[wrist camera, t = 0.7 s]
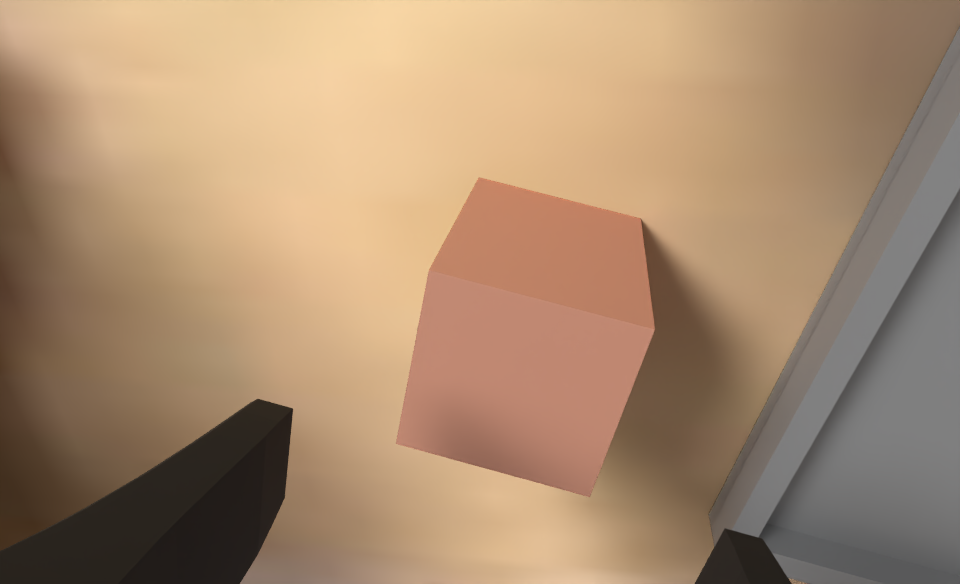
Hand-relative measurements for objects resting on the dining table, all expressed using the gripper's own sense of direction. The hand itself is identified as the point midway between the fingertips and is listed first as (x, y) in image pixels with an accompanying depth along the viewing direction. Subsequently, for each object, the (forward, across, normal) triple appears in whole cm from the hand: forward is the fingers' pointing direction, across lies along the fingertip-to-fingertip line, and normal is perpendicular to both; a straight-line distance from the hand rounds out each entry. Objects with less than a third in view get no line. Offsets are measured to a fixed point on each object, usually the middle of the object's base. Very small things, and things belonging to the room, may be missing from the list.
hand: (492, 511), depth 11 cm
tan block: (+9, 0, 0) cm, 9 cm away
